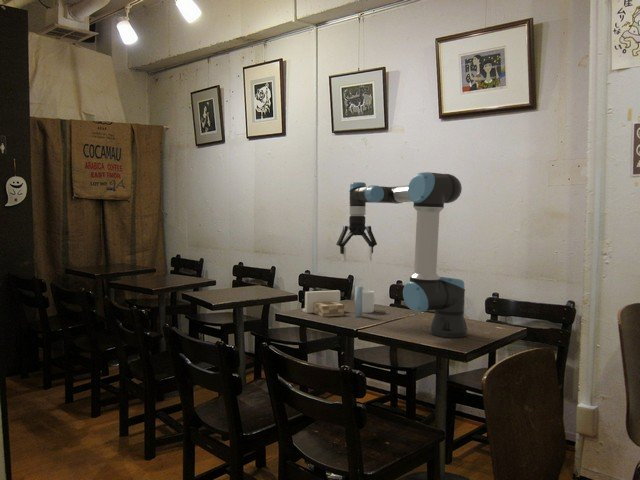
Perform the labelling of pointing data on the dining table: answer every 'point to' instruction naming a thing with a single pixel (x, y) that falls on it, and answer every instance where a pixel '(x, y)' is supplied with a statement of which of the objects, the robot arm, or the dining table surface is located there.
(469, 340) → the dining table surface
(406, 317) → the dining table surface
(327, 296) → the panel
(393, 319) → the dining table surface
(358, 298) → the dowel
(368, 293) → the cup
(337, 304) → the block
